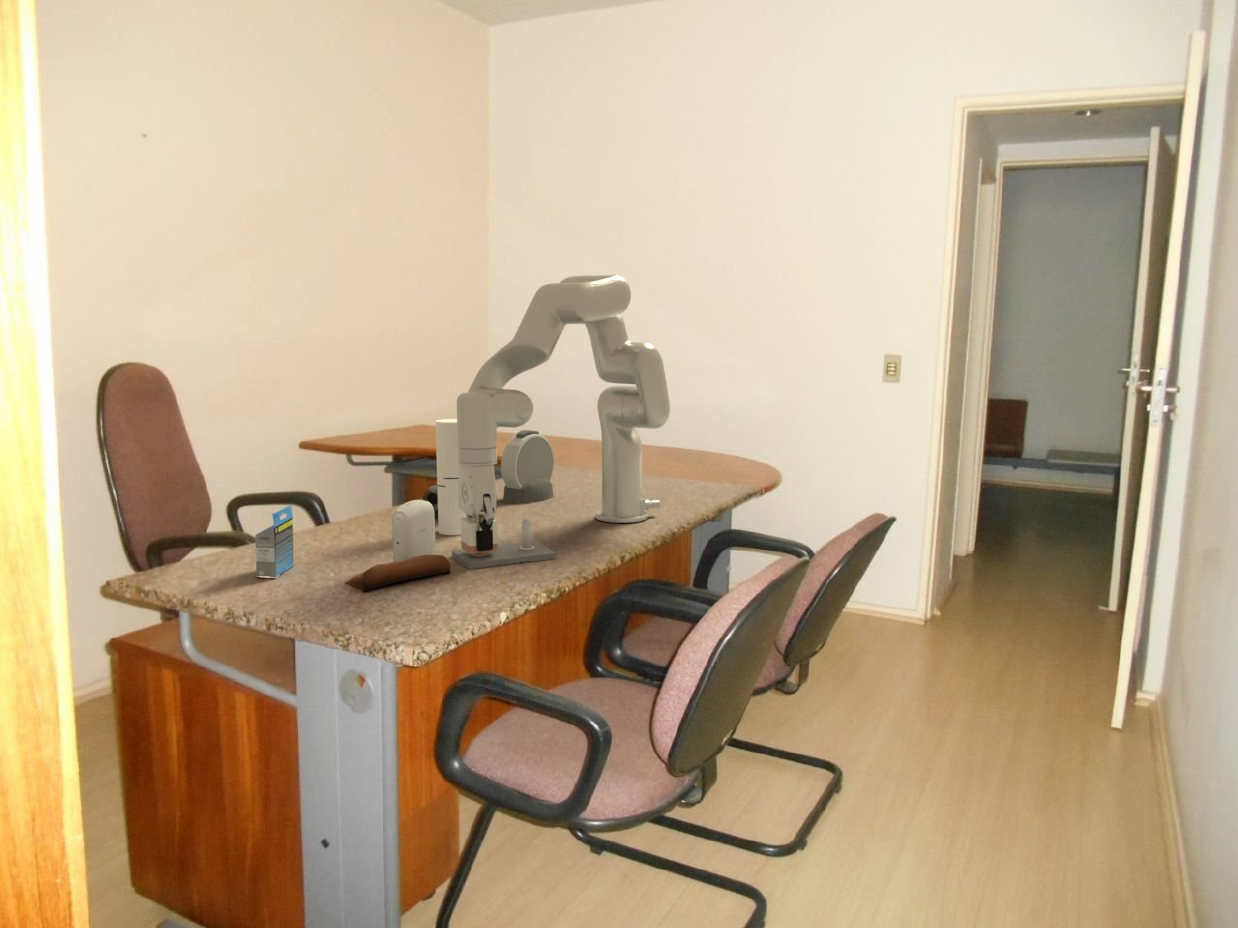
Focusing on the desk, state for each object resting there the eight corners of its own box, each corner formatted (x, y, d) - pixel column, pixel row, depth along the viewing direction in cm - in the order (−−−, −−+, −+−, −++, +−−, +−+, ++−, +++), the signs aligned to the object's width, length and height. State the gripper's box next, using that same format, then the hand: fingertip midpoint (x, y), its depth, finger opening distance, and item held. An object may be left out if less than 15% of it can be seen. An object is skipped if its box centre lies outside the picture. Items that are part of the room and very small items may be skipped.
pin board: (535, 546, 194) (534, 511, 193) (555, 558, 184) (555, 521, 183) (451, 556, 186) (450, 519, 185) (468, 569, 176) (467, 530, 175)
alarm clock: (534, 491, 255) (533, 426, 252) (562, 496, 249) (562, 428, 247) (493, 501, 242) (492, 432, 240) (522, 505, 236) (521, 434, 234)
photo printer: (409, 571, 175) (406, 507, 173) (390, 568, 176) (387, 505, 175) (439, 558, 184) (437, 497, 182) (420, 556, 186) (418, 495, 184)
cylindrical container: (464, 535, 203) (461, 422, 199) (433, 534, 205) (430, 422, 201) (475, 528, 210) (473, 419, 206) (446, 527, 212) (442, 418, 208)
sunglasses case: (426, 565, 179) (435, 539, 176) (444, 589, 175) (454, 563, 172) (340, 583, 166) (348, 555, 163) (358, 610, 163) (366, 582, 159)
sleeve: (461, 547, 184) (460, 518, 183) (488, 544, 186) (487, 515, 185) (470, 554, 179) (469, 523, 178) (497, 550, 181) (497, 520, 180)
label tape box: (275, 566, 178) (271, 503, 176) (296, 566, 178) (292, 504, 176) (255, 579, 169) (251, 513, 167) (277, 579, 169) (274, 513, 167)
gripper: (446, 451, 185) (448, 539, 188) (472, 463, 170) (474, 559, 173) (481, 449, 189) (483, 535, 192) (511, 460, 174) (512, 554, 176)
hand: (479, 545), depth 182 cm, fingers closed on sleeve, 5 cm apart
